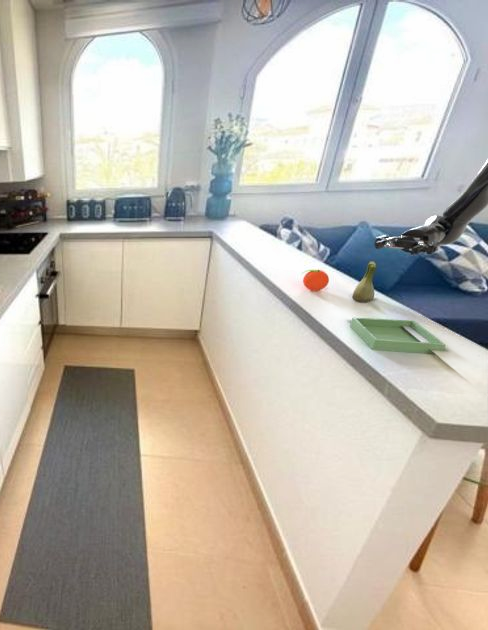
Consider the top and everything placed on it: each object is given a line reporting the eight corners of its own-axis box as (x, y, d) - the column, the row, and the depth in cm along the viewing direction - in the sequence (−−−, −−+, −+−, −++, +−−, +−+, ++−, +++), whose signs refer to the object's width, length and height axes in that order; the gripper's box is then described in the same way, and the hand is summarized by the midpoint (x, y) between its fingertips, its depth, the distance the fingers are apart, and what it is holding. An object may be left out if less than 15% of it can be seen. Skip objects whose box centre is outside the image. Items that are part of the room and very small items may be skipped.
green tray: (410, 329, 88) (413, 320, 87) (441, 354, 78) (446, 344, 77) (349, 325, 92) (352, 317, 91) (371, 349, 82) (375, 340, 80)
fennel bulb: (357, 296, 108) (369, 259, 103) (375, 301, 104) (389, 263, 99) (347, 300, 106) (359, 263, 100) (365, 305, 102) (379, 267, 96)
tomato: (295, 291, 114) (300, 270, 111) (298, 284, 119) (303, 264, 116) (325, 295, 110) (330, 274, 107) (326, 288, 115) (332, 268, 112)
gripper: (395, 223, 114) (370, 232, 107) (454, 230, 103) (431, 240, 96) (387, 245, 117) (363, 255, 111) (444, 254, 106) (420, 266, 99)
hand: (394, 248), depth 103 cm, fingers open, 8 cm apart
